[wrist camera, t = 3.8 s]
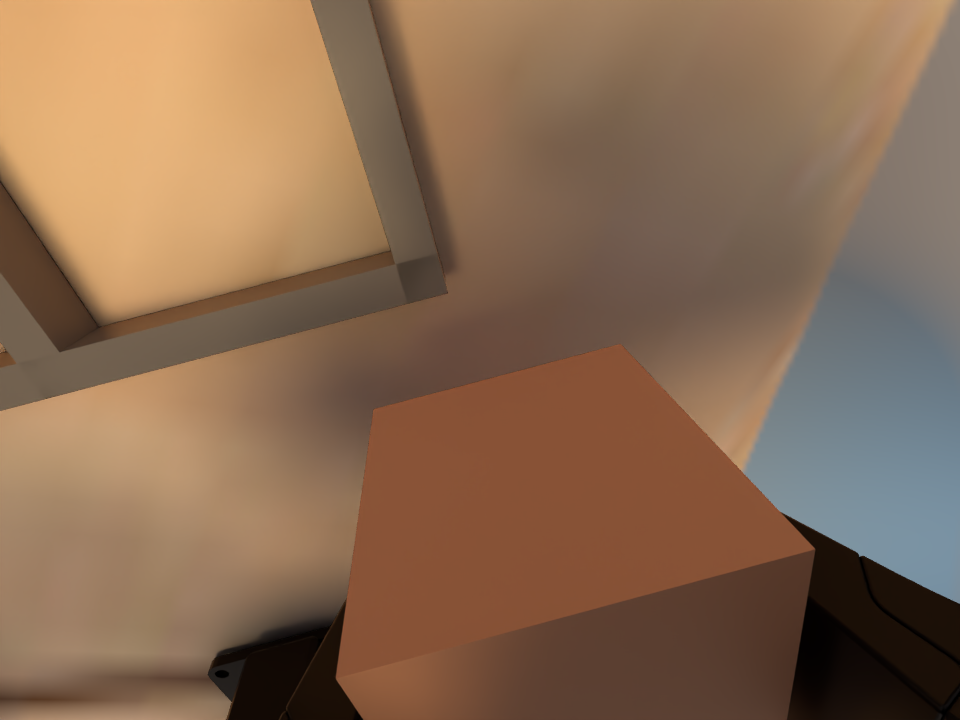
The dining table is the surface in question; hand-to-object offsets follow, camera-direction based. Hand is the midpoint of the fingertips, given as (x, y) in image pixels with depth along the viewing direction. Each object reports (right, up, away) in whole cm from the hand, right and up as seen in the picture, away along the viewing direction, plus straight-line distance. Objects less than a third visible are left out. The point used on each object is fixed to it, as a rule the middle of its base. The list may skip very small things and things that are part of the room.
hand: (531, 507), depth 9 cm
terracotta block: (0, +1, +1) cm, 1 cm away
